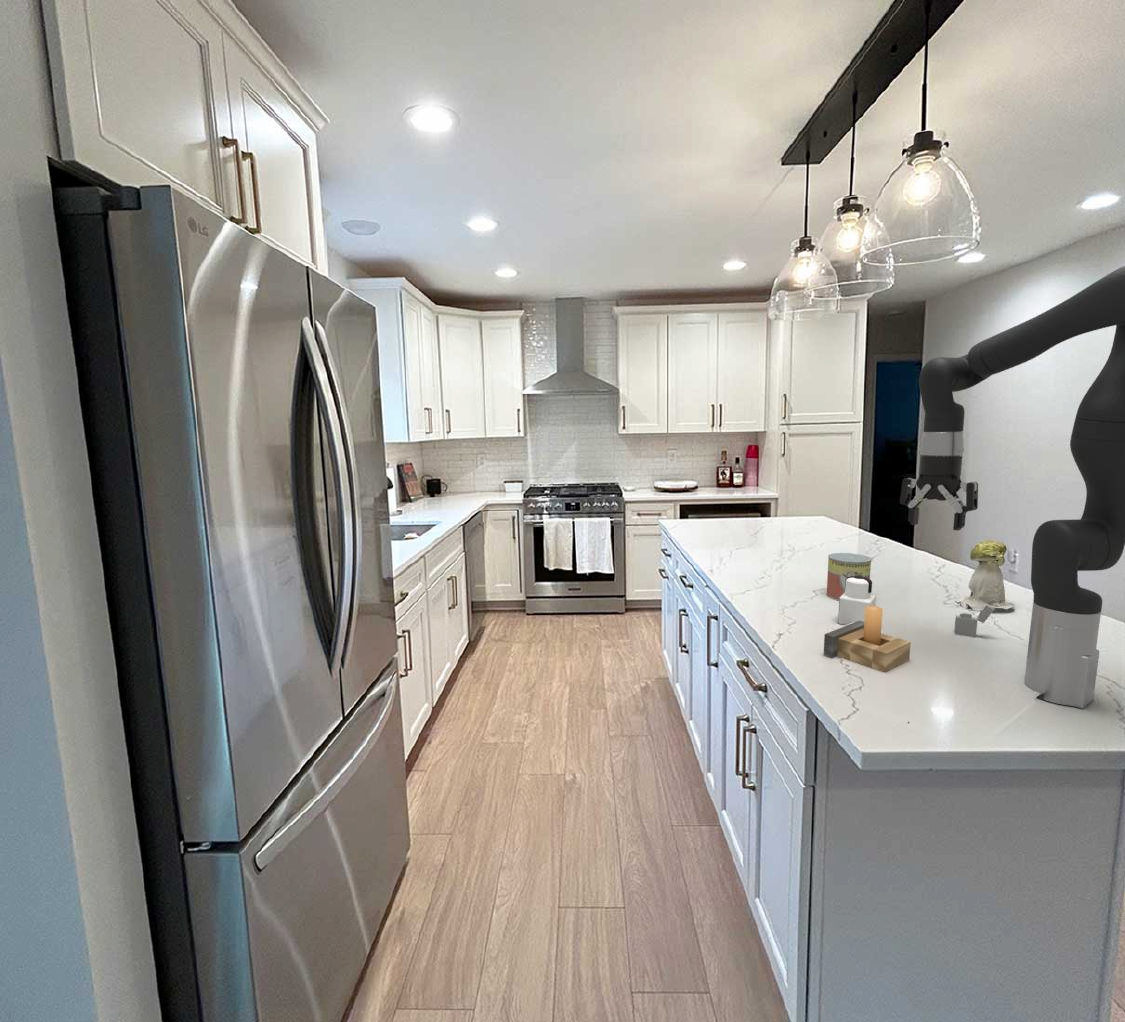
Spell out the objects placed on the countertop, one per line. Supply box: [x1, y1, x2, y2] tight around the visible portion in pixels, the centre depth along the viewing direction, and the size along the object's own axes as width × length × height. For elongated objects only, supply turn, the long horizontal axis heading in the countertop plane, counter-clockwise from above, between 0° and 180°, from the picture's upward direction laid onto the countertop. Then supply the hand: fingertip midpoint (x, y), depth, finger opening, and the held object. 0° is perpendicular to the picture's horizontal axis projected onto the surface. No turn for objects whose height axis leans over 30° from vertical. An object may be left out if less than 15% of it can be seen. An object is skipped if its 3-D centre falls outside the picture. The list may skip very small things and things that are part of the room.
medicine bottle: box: [837, 576, 877, 626], centre depth 141 cm, size 7×7×12 cm
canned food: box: [825, 552, 872, 602], centre depth 163 cm, size 11×11×12 cm
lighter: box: [953, 604, 995, 638], centre depth 132 cm, size 7×2×8 cm, turn 59°
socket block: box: [837, 628, 911, 673], centre depth 118 cm, size 10×10×4 cm
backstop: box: [823, 621, 864, 659], centre depth 116 cm, size 20×14×6 cm
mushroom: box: [955, 540, 1015, 612], centre depth 151 cm, size 12×13×18 cm
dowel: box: [863, 605, 884, 646], centre depth 118 cm, size 3×3×10 cm
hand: (935, 527), depth 121 cm, fingers open, 8 cm apart
